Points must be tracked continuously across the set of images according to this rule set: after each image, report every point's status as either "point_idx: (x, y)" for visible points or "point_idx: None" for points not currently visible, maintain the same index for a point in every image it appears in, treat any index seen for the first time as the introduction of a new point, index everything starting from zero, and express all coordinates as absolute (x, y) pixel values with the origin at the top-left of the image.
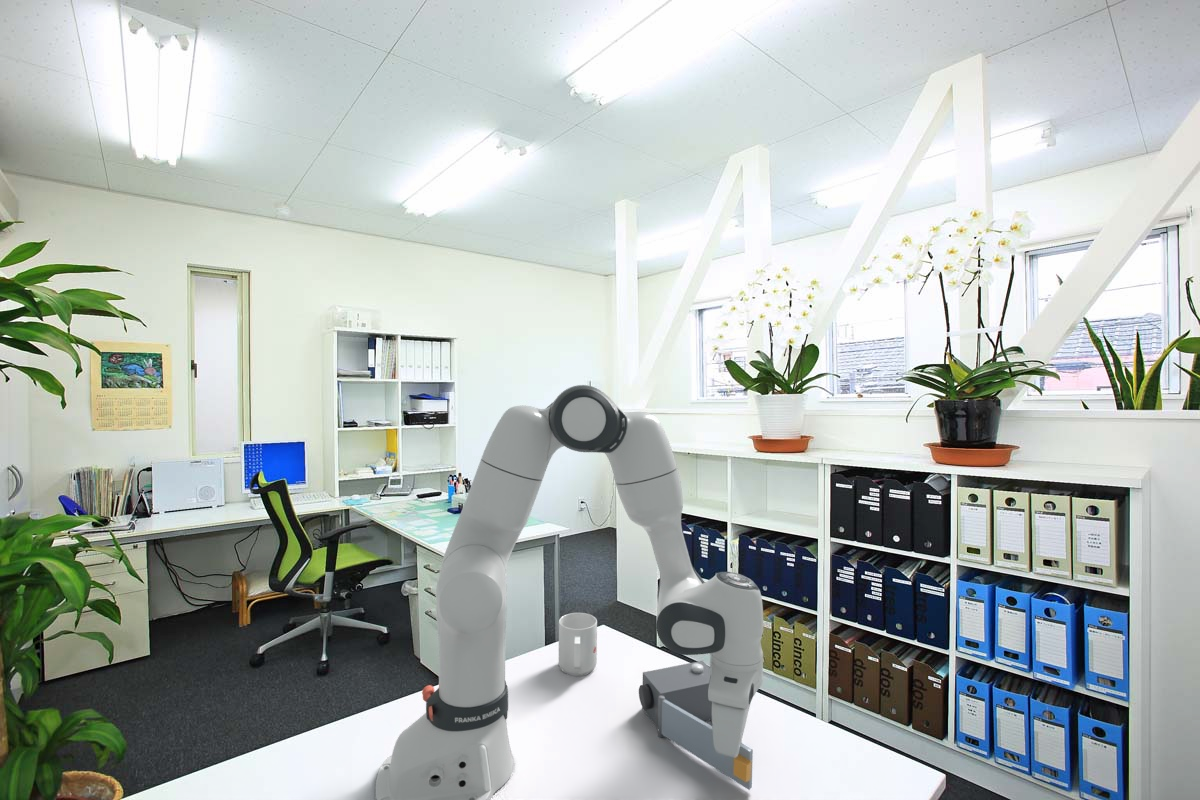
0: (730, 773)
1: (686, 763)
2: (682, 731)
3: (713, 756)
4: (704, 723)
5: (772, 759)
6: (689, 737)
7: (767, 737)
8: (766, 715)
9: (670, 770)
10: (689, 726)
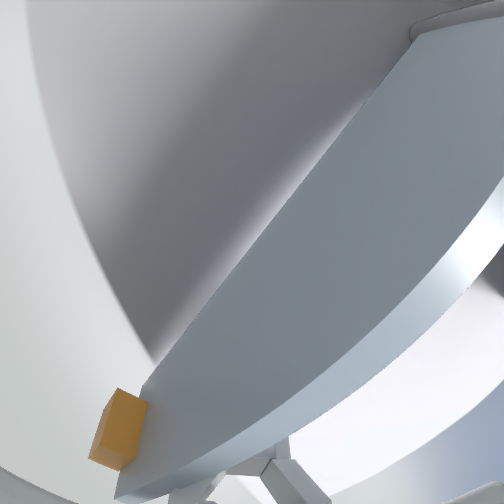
0: (167, 362)
1: (235, 162)
2: (373, 156)
3: (206, 330)
4: (270, 431)
5: (316, 421)
6: (323, 208)
7: (404, 405)
8: (476, 388)
9: (160, 88)
10: (353, 245)
